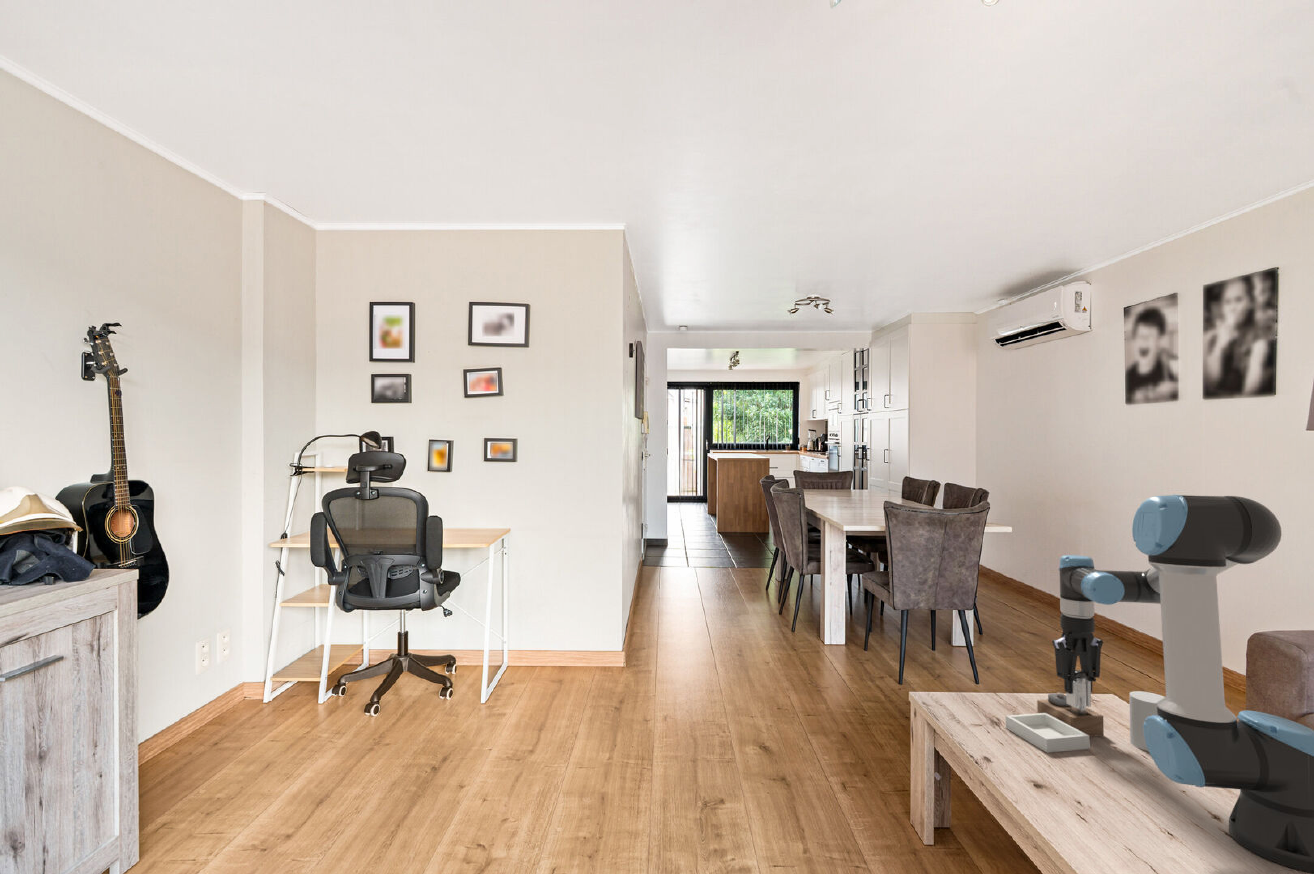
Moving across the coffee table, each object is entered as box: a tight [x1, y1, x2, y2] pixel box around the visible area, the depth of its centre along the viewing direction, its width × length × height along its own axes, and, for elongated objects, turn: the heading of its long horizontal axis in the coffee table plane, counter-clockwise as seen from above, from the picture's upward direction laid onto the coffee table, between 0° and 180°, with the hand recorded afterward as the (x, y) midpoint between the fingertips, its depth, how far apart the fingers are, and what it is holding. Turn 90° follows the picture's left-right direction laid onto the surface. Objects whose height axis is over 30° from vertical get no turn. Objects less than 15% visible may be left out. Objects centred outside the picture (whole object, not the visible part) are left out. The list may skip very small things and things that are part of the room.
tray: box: [1005, 713, 1091, 753], centre depth 161 cm, size 14×12×3 cm
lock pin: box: [1071, 669, 1088, 716], centre depth 165 cm, size 3×3×15 cm
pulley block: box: [1036, 691, 1105, 737], centre depth 168 cm, size 12×9×8 cm
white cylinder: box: [1128, 690, 1165, 752], centre depth 157 cm, size 8×8×12 cm
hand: (1078, 704), depth 165 cm, fingers closed on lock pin, 3 cm apart
